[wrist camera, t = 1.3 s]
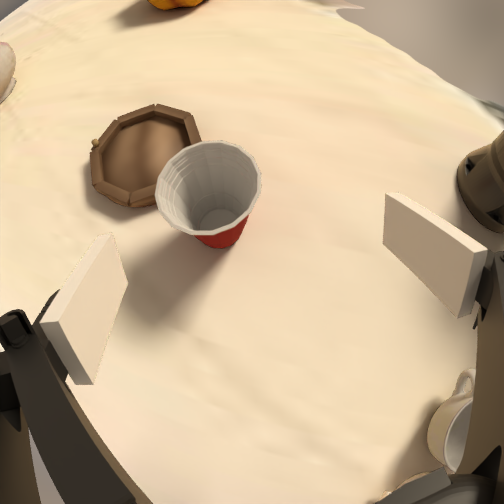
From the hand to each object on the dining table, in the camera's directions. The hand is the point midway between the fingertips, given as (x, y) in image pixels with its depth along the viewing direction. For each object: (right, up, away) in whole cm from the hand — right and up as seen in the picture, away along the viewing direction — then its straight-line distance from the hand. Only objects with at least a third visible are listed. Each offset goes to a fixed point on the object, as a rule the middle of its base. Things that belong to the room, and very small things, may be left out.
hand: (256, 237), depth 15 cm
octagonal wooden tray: (-16, +14, +31) cm, 37 cm away
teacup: (+27, -23, +19) cm, 41 cm away
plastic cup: (-5, +2, +27) cm, 28 cm away
